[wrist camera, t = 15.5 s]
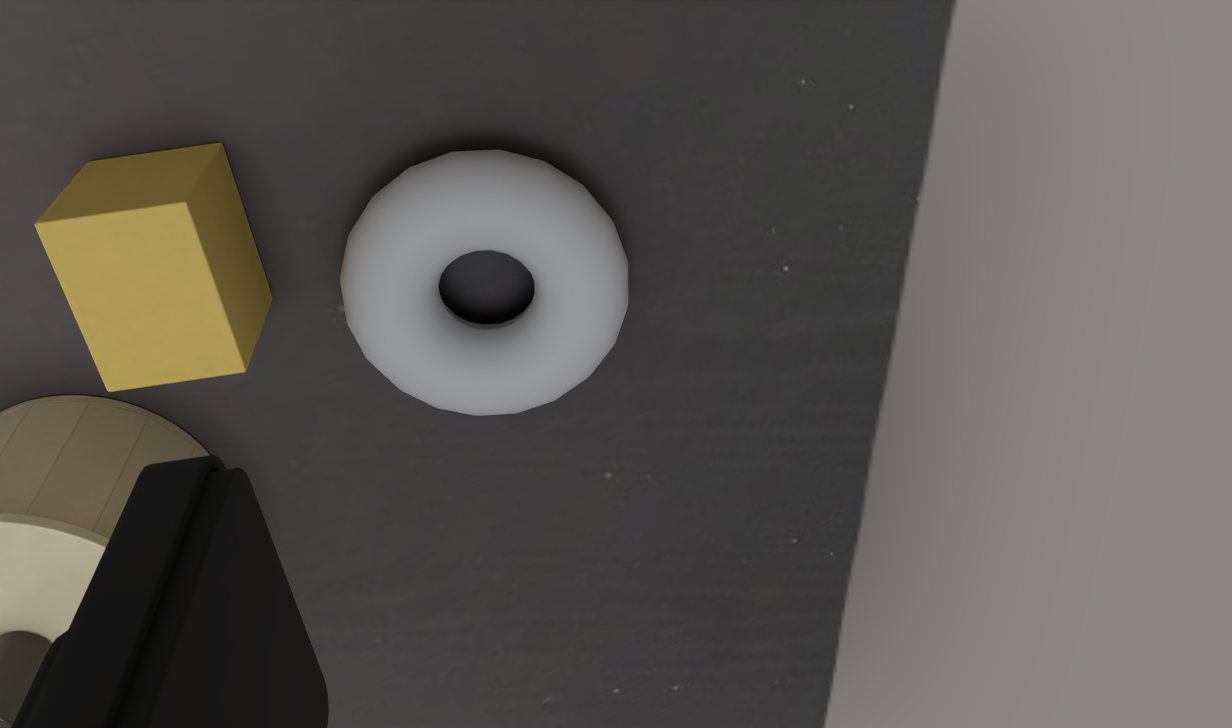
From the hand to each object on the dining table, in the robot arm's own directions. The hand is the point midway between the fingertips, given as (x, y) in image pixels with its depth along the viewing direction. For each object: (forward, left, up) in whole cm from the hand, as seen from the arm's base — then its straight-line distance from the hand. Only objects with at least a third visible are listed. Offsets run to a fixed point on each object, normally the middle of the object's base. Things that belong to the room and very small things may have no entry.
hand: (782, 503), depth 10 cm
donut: (+11, -5, -28) cm, 31 cm away
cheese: (+8, -15, -28) cm, 33 cm away
